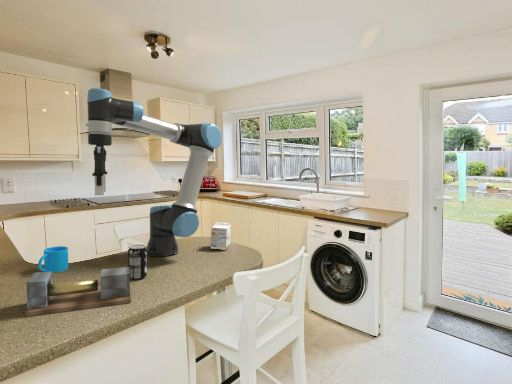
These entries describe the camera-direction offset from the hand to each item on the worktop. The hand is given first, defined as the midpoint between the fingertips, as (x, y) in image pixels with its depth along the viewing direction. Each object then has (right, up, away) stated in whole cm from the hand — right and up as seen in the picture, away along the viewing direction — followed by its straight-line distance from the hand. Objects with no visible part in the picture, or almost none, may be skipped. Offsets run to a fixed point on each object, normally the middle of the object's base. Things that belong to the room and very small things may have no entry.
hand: (100, 193), depth 114 cm
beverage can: (+12, -32, +5) cm, 34 cm away
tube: (-1, -31, -18) cm, 36 cm away
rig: (+4, -33, -16) cm, 37 cm away
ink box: (+38, -29, +50) cm, 69 cm away
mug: (-23, -31, +9) cm, 40 cm away
